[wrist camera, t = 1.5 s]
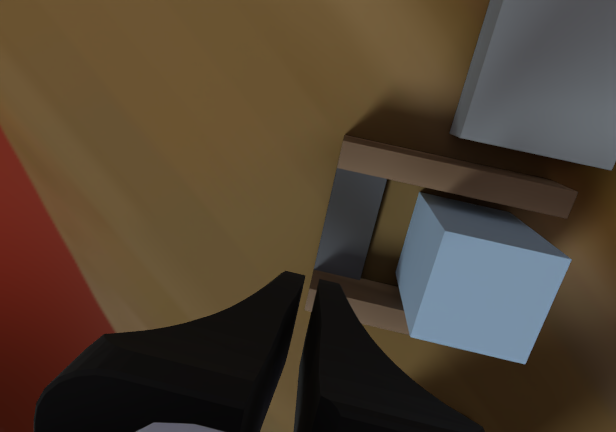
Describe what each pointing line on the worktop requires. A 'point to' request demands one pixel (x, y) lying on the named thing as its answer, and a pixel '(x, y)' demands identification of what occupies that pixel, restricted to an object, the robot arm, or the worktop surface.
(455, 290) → the block
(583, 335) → the worktop surface
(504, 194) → the channel
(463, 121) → the stand
